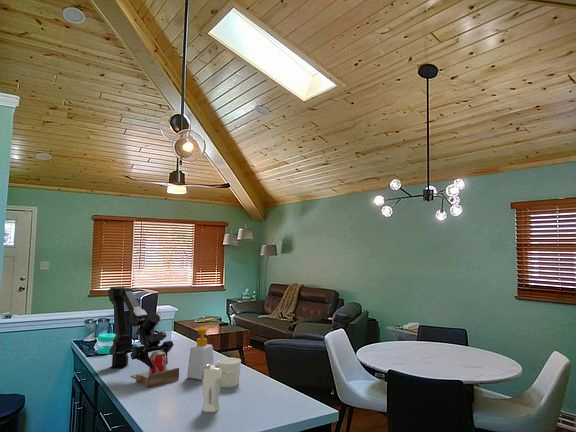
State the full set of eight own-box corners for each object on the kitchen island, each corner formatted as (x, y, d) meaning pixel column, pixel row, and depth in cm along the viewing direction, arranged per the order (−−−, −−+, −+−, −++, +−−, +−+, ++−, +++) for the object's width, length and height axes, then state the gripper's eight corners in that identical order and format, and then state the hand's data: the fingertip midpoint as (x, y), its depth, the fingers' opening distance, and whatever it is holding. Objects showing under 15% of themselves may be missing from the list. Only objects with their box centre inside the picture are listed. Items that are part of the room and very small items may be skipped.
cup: (244, 382, 174) (244, 358, 175) (234, 389, 165) (234, 364, 166) (224, 379, 177) (224, 356, 178) (212, 386, 168) (213, 362, 169)
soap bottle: (221, 373, 187) (222, 324, 189) (203, 381, 174) (204, 329, 177) (204, 370, 191) (205, 323, 193) (185, 378, 179) (187, 327, 181)
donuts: (103, 337, 216) (93, 335, 221) (102, 356, 215) (92, 353, 221) (120, 334, 224) (110, 332, 230) (119, 352, 223) (109, 350, 229)
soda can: (160, 384, 170) (161, 355, 171) (145, 382, 172) (146, 354, 173) (168, 378, 177) (169, 351, 178) (154, 377, 179) (155, 350, 180)
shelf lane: (135, 382, 172) (136, 370, 173) (164, 374, 183) (165, 363, 184) (149, 387, 165) (150, 375, 166) (178, 379, 176) (179, 368, 177)
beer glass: (202, 406, 146) (203, 364, 148) (221, 405, 147) (222, 364, 148) (199, 413, 139) (201, 369, 141) (219, 413, 140) (220, 369, 141)
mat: (130, 376, 180) (130, 375, 180) (148, 372, 187) (148, 371, 187) (141, 380, 175) (141, 379, 175) (159, 375, 181) (159, 375, 181)
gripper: (135, 328, 172) (147, 359, 164) (172, 322, 186) (185, 351, 178) (125, 344, 176) (136, 374, 168) (162, 337, 191) (174, 365, 183)
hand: (159, 365), depth 174 cm, fingers closed on soda can, 7 cm apart
